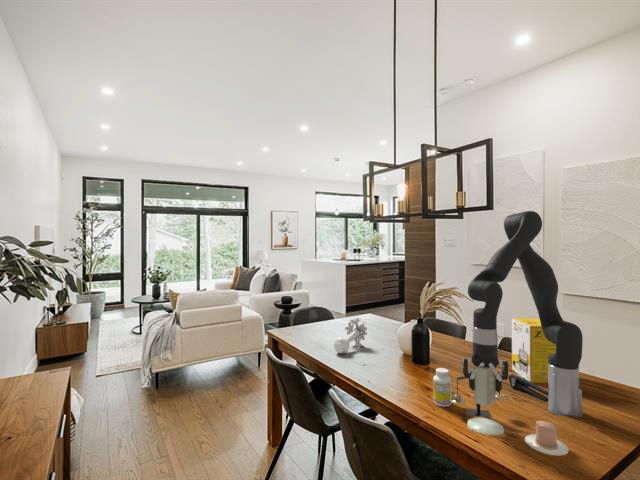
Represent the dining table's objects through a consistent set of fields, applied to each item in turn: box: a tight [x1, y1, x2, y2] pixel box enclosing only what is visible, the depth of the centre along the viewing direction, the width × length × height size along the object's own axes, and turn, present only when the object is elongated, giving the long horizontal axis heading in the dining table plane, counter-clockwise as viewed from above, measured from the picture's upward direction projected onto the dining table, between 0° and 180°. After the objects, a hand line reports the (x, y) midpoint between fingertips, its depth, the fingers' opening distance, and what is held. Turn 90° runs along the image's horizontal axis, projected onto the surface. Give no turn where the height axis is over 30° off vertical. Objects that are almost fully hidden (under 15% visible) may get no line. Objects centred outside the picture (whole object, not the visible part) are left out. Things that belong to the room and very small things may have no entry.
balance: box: [450, 371, 508, 418], centre depth 125 cm, size 19×5×16 cm, turn 80°
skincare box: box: [473, 365, 497, 408], centre depth 116 cm, size 6×4×12 cm
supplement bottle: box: [432, 367, 453, 408], centre depth 135 cm, size 7×7×13 cm
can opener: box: [508, 373, 548, 402], centre depth 144 cm, size 18×7×6 cm, turn 19°
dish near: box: [524, 433, 569, 457], centre depth 105 cm, size 11×11×1 cm
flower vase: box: [333, 317, 368, 354], centre depth 202 cm, size 13×18×25 cm
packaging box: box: [511, 317, 556, 384], centre depth 161 cm, size 16×16×25 cm
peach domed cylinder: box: [535, 420, 558, 450], centre depth 105 cm, size 6×6×6 cm
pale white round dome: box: [466, 417, 505, 436], centre depth 116 cm, size 11×11×1 cm
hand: (484, 390), depth 116 cm, fingers closed on skincare box, 7 cm apart
